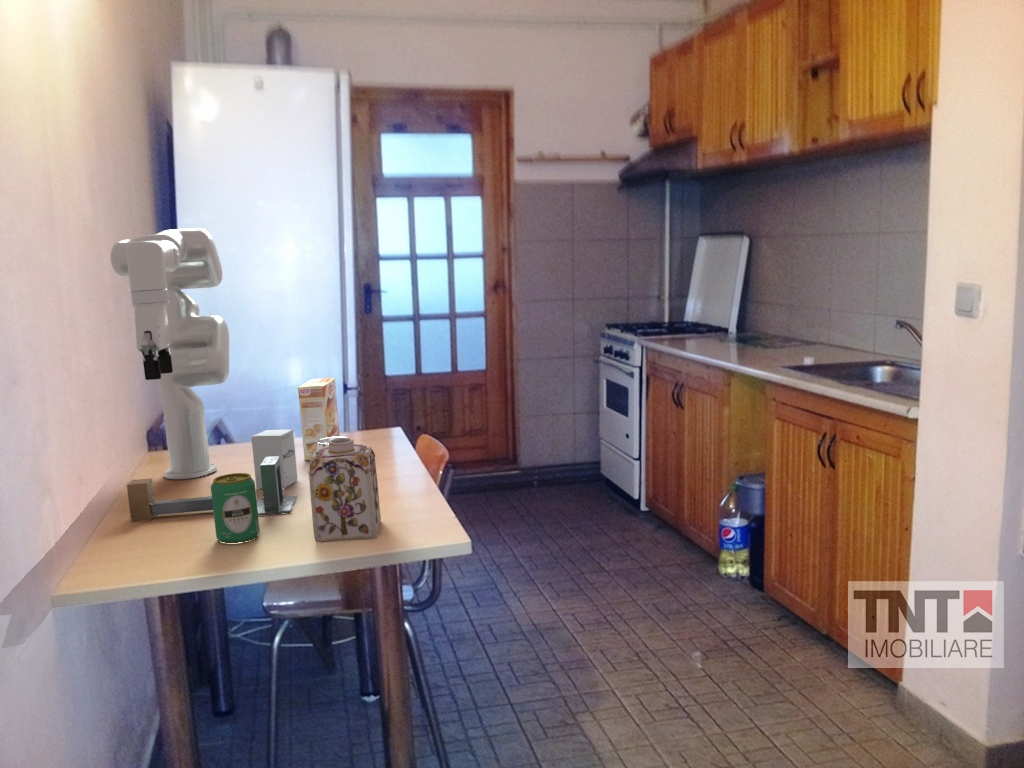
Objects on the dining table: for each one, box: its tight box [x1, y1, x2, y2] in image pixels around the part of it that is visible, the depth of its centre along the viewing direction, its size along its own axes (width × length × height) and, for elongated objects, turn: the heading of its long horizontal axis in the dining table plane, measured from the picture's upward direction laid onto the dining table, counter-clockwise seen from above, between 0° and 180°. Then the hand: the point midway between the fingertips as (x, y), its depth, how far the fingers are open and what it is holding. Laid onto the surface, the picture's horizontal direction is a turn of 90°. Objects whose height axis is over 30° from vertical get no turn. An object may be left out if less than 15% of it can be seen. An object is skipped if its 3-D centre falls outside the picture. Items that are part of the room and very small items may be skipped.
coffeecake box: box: [297, 377, 341, 461], centre depth 238 cm, size 15×7×20 cm, turn 179°
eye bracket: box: [257, 456, 298, 516], centre depth 190 cm, size 12×8×10 cm, turn 7°
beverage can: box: [210, 472, 261, 543], centre depth 169 cm, size 8×8×12 cm
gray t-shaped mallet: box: [126, 477, 213, 523], centre depth 188 cm, size 4×24×8 cm, turn 97°
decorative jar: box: [307, 437, 382, 543], centre depth 169 cm, size 12×12×18 cm
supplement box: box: [251, 429, 298, 489], centre depth 208 cm, size 7×7×13 cm
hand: (159, 376), depth 196 cm, fingers open, 9 cm apart
